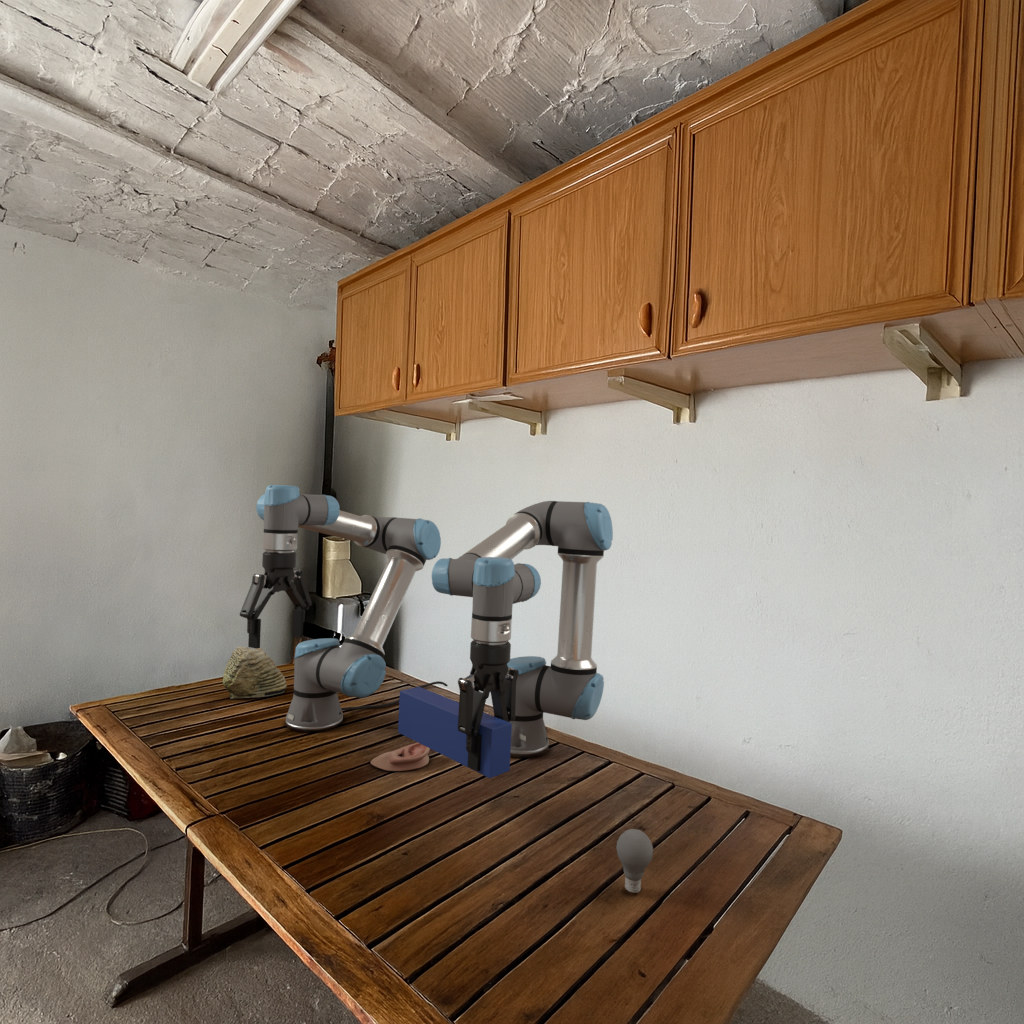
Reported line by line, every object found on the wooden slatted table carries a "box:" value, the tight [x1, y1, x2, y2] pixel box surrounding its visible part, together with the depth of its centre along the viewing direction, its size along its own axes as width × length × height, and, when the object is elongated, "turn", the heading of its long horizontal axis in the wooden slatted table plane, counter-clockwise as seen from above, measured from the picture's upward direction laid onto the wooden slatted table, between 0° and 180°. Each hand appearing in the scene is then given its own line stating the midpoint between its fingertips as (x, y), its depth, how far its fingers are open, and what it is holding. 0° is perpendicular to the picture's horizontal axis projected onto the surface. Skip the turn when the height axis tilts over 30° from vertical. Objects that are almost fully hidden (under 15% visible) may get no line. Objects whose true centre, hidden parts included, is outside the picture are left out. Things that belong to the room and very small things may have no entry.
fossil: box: [222, 646, 288, 699], centre depth 198 cm, size 9×18×15 cm, turn 132°
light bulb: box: [615, 828, 654, 894], centre depth 106 cm, size 6×6×10 cm
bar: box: [397, 686, 512, 779], centre depth 126 cm, size 28×5×9 cm, turn 45°
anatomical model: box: [370, 742, 431, 772], centre depth 153 cm, size 13×4×12 cm
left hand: (276, 642), depth 148 cm, fingers open, 13 cm apart
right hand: (485, 764), depth 118 cm, fingers closed on bar, 5 cm apart
